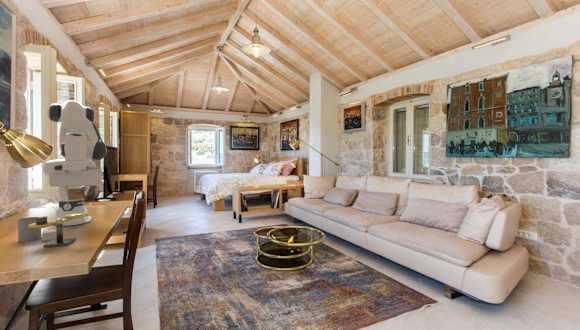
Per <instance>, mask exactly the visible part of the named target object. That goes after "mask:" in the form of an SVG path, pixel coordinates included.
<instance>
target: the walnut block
mask: <svg viewBox="0 0 580 330" xmlns="http://www.w3.org/2000/svg"><path fill="white" fill-rule="evenodd" d="M85 190H86V188H85V187H82V188H71V189H68V200H80V199H84V200H85V199H86V197H85V196H86V195H82V194H83V193H82V192H84V191H85Z"/></svg>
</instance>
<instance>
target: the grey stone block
mask: <svg viewBox="0 0 580 330" xmlns="http://www.w3.org/2000/svg"><path fill="white" fill-rule="evenodd" d="M41 238H42V242H43V241H51V240H52V239H57V237H56V228H55V229H48V230H42V232H41Z"/></svg>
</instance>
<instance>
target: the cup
mask: <svg viewBox="0 0 580 330" xmlns="http://www.w3.org/2000/svg"><path fill="white" fill-rule="evenodd" d="M37 217H38V216H30V217H23V218H19V219H17V233H18V234H17V236H18V237H17V241H18V242H31V241H35V240H39V239H41V238H42V228H28V225H30V224H33V223H36V218H37Z"/></svg>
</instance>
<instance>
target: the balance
mask: <svg viewBox="0 0 580 330" xmlns="http://www.w3.org/2000/svg"><path fill="white" fill-rule="evenodd" d="M85 216H90V215H89V212H87V213H85V212H81V213H71V214H67V215H65V218H68V219H64V220H63V219H57V220H56V222H55V221H48V216H36V217H37V218H36V223H33V224H30V225H28V228H41V229H43V228H48V227H51V226H52V227H53V226H55V224H56V227H55V229H56V239H52V240H48V242H46V243H44V244H43V246H42V247H43V248H45V249H46V248H55V247H66V246H67V247H68V246H69V245H71V244H72V243H74V242H75V241H76V237H67V238H64V226H63V223H64V222H66V221H70V220H73V219H77V218H79V217H85Z"/></svg>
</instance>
